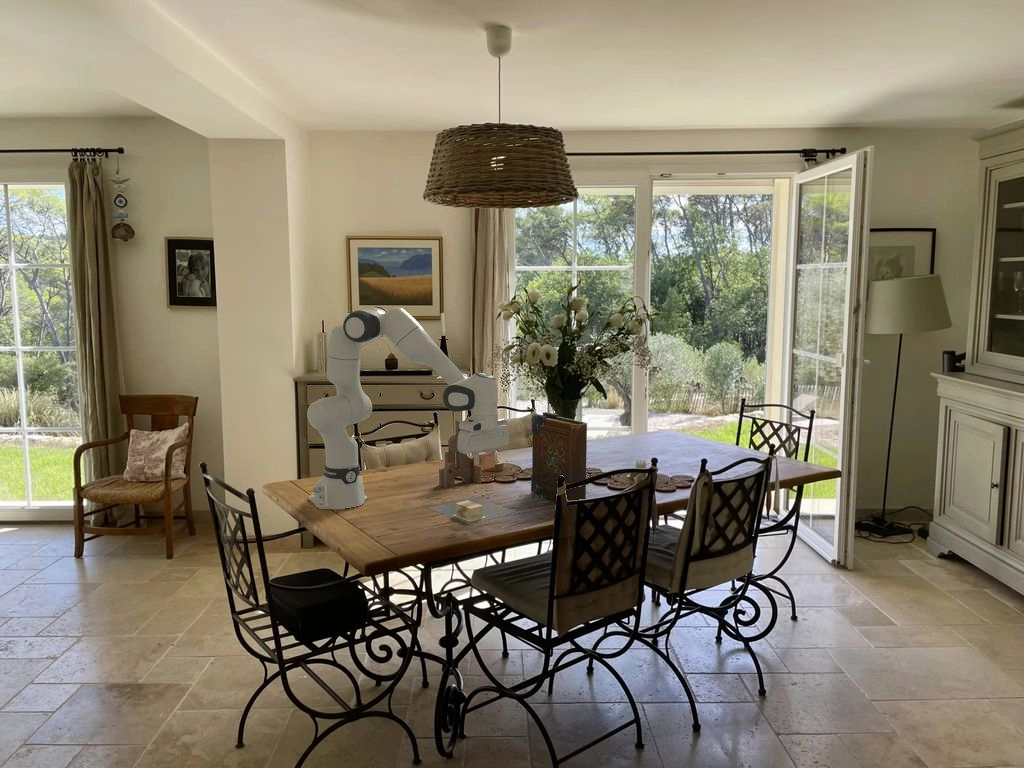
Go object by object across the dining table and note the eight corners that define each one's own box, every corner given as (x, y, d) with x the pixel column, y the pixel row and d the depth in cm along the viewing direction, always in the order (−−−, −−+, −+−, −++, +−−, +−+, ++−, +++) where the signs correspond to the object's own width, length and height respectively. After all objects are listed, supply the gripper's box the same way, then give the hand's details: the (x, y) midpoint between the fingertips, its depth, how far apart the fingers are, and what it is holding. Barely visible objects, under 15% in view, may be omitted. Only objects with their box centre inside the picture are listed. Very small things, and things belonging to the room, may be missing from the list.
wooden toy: (446, 489, 284) (445, 424, 280) (439, 485, 290) (438, 421, 286) (482, 483, 292) (482, 420, 288) (474, 479, 297) (474, 417, 294)
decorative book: (530, 493, 278) (531, 414, 274) (545, 490, 283) (545, 411, 279) (574, 508, 260) (575, 423, 256) (589, 504, 265) (590, 421, 261)
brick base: (455, 514, 248) (455, 503, 247) (467, 511, 251) (467, 500, 251) (470, 520, 242) (470, 508, 241) (482, 517, 245) (482, 505, 245)
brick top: (474, 465, 250) (474, 453, 249) (483, 463, 253) (483, 451, 252) (485, 468, 246) (485, 457, 245) (494, 466, 248) (494, 455, 248)
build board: (428, 512, 256) (427, 507, 255) (473, 500, 269) (473, 496, 269) (469, 529, 239) (469, 524, 238) (516, 516, 252) (516, 511, 252)
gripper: (501, 416, 256) (501, 456, 258) (454, 424, 243) (454, 465, 245) (514, 419, 252) (513, 459, 254) (466, 427, 238) (466, 469, 240)
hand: (484, 462), depth 249 cm, fingers closed on brick top, 4 cm apart
